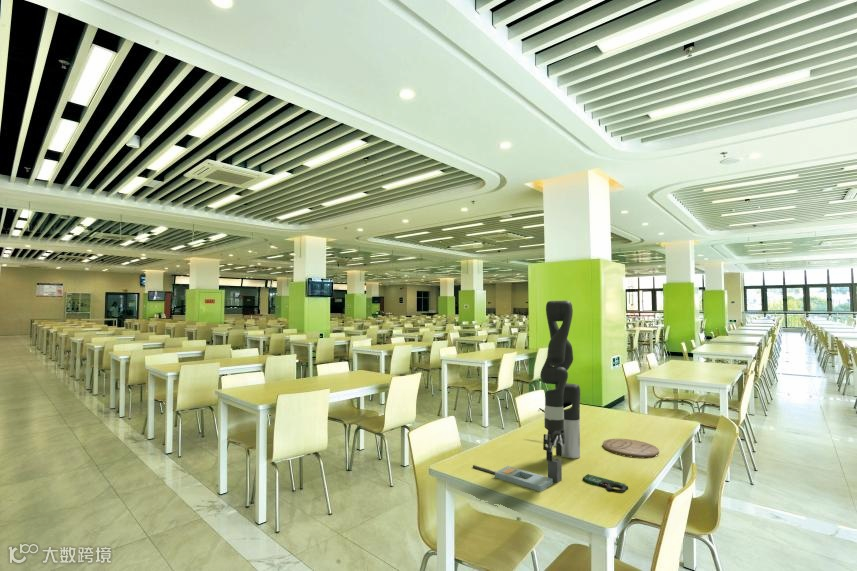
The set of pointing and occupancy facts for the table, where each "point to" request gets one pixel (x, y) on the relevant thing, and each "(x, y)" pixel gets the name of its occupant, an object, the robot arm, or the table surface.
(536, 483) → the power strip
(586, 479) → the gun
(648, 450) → the trivet
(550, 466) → the block
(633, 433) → the table surface
